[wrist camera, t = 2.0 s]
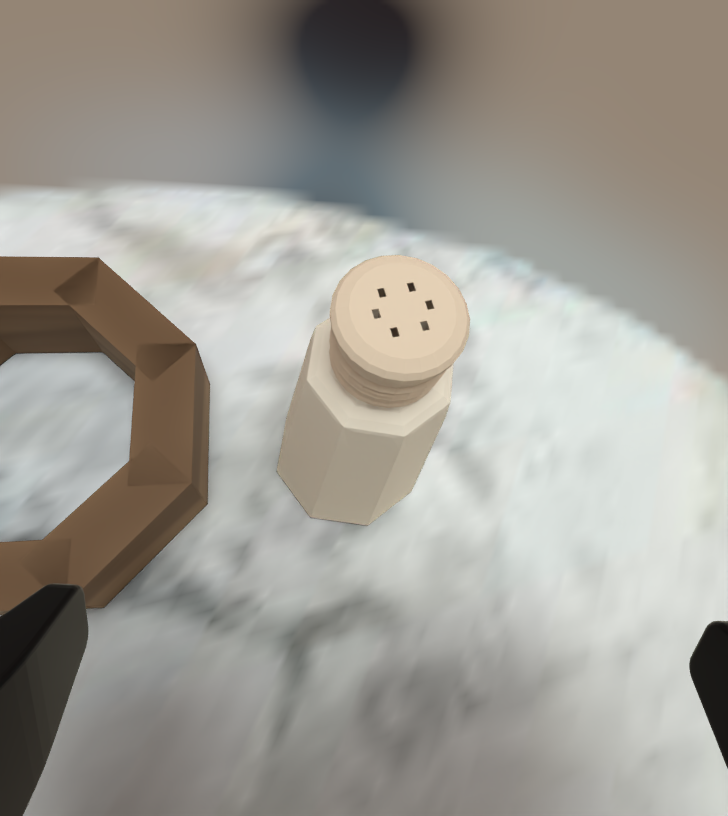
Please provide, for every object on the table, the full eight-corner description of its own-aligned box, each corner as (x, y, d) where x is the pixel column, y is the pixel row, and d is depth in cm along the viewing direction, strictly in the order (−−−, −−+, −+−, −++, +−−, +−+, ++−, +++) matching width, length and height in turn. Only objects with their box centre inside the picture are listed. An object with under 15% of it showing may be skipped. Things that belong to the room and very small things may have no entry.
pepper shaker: (293, 545, 20) (298, 475, 10) (261, 404, 21) (234, 214, 11) (436, 507, 21) (579, 408, 11) (395, 376, 22) (485, 179, 12)
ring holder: (20, 691, 17) (-43, 710, 14) (-202, 456, 19) (-305, 423, 15) (272, 440, 21) (268, 408, 18) (70, 259, 22) (33, 199, 19)
